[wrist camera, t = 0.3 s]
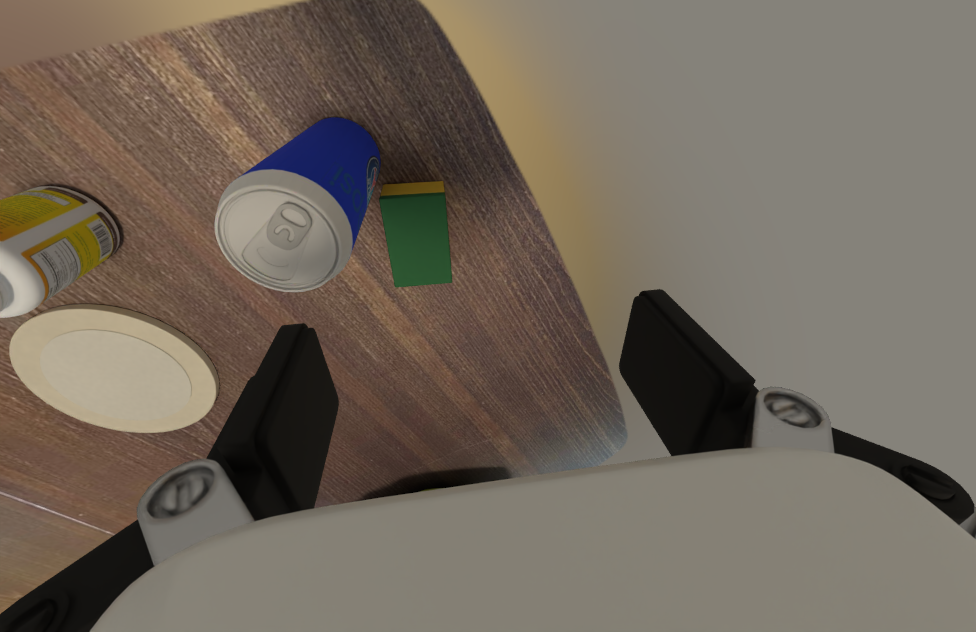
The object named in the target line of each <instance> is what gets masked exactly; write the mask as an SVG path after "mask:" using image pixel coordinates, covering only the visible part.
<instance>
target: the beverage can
mask: <svg viewBox="0 0 976 632" xmlns="http://www.w3.org/2000/svg"><path fill="white" fill-rule="evenodd" d="M380 166H381V160H380V154H379V150H378V147H377V145H376V143H375V141H374V140H373V138H372V137H371V136H370V134H369V133H368V132H367V131H366V130H365V129H364V128H362V127H361V126H360V125H358V124H357V123H355V122H353V121H350V120H348V119H344V118H338V117H332V118H326V119H323V120H320V121H318V122H317V123H315V124H314V125H312V126H311V127H310V128H308V129H307V130H305V131H304V132H302V133H301V134H300V135H298V136H297V137H295V138H294V139H293V140H291V141H290V142H288V143H287V144H285V145H284V146H283V147H281V148H280V149H278V150H277V151H275V152H274V153H273V154H271V155H270V156H268V157H267V158H265V159H264V160H263V161H261V162H260V163H258V164H257V165H255V166H254V167H253V168H251V169H250V170H248V171H247V172H246V173H244V174H243V175H241V176H240V177H238V178H237V179H236V180H234V181H233V182H232V183H231V184H230V185H229V186H228V187H227V188H226V189H225V191H224V193H223V194H222V196H221V199H220V201H219V204H218V210H217V214H216V217H215V234H216V238H217V242H218V244H219V246H220V248H221V251H222V252H223V254H224V255H225V257H226V258H227V260H228V261H229V262H230V263H231V264H232V265H233V266H234V267H235V268H236V269H237V270H238V271H239V272H240V273H242V274H243V275H244V276H246V277H247V278H249V279H250V280H252V281H254V282H256V283H257V284H260V285H262V286H265V287H267V288H270V289H274V290H278V291H284V292H303V291H308V290H312V289H315V288H317V287H320V286H321V285H323V284H325V283H326V282H327V281H329V280H330V279H332V278H334V277H335V276H336V275H337V274H338V273H340V272H341V270H342V269H343V268H344V267H345V266H346V264H347V262H348V260H349V258H350V255H351V252H352V249H353V247H354V244H355V241H356V238H357V235H358V232H359V230H360V227H361V224H362V221H363V218H364V215H365V212H366V210H367V207H368V204H369V201H370V198H371V195H372V192H373V190H374V187H375V184H376V181H377V178H378V175H379V172H380Z"/></svg>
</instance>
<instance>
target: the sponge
mask: <svg viewBox="0 0 976 632" xmlns="http://www.w3.org/2000/svg"><path fill="white" fill-rule="evenodd" d="M379 202H380V208H381V213H382V219H383V224H384V230H385V235H386V241H387V246H388V252H389V257H390V263H391V268H392V274H393V279H394V285H395V287H407V286H418V285H430V284H442V283H452V273H451V260H450V248H449V236H448V223H447V211H446V199H445V191H444V184H443V181H436V182H418V183H401V184H384V185H383V188H382V191H381V195H380V198H379Z"/></svg>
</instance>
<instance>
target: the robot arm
mask: <svg viewBox="0 0 976 632" xmlns="http://www.w3.org/2000/svg"><path fill="white" fill-rule="evenodd" d="M619 369H620V373H621V375H622V377H623V379H624V380H625V382H626V383H627V385H628V386H629V388H630V390H631V391H632V393H633V395H634V396H635V398H636V399H637V401H638V403H639V404H640V406H641V408H642V409H643V411H644V412H645V414H646V416H647V417H648V419H649V420H650V422H651V424H652V425H653V427H654V428H655V430H656V432H657V433H658V435H659V437H660V438H661V440H662V441H663V443H664V444H665V446H666V448H667V449H668V451H669V453H670V454H671V456H670V457H663V458H656V459H648V460H642V461H635V462H627V463H620V464H612V465H605V466H597V467H590V468H582V469H575V470H568V471H561V472H554V473H547V474H540V475H533V476H526V477H519V478H512V479H505V480H498V481H491V482H484V483H477V484H470V485H463V486H456V487H450V488H443V489H436V490H429V491H422V492H416V493H409V494H402V495H395V496H388V497H382V498H375V499H369V500H362V501H356V502H350V503H344V504H338V505H332V506H326V507H320V508H314V506H315V502H316V498H317V494H318V490H319V485H320V481H321V477H322V473H323V469H324V465H325V461H326V457H327V453H328V448H329V444H330V440H331V436H332V432H333V428H334V424H335V420H336V416H337V411H338V406H339V401H338V395H337V392H336V390H335V387H334V384H333V381H332V378H331V375H330V372H329V369H328V366H327V363H326V361H325V358H324V355H323V352H322V349H321V346H320V343H319V340H318V337H317V334H316V332H315V330H314V328H308V327H307V325H306V324H304V323H302V324H292V325H283V326H281V327H280V329H279V331H278V333H277V335H276V337H275V338H274V340H273V342H272V344H271V346H270V348H269V350H268V352H267V354H266V355H265V357H264V359H263V361H262V363H261V365H260V367H259V369H258V371H257V372H256V374H255V376H253V377H251V378H250V380H249V381H248V383H247V384H246V386H245V388H244V390H243V392H242V394H241V395H240V397H239V399H238V401H237V403H236V405H235V407H234V408H233V410H232V412H231V414H230V416H229V418H228V420H227V421H226V423H225V425H224V427H223V429H222V431H221V432H220V434H219V436H218V438H217V440H216V442H215V444H214V445H213V447H212V449H211V451H210V453H209V455H208V456H207V458H206V459H196V460H192V461H189V462H185V463H183V464H181V465H179V466H177V467H174V468H172V469H171V470H169V471H168V472H166V473H165V474H163V475H162V476H160V477H159V478H158V479H157V480H156V481H155V482H154V483H153V484H152V485H150V486H149V487H148V489H147V490H146V492H145V493H144V494H143V496H142V497H141V499H140V501H139V504H138V507H137V518H138V520H136V521H135V522H133V523H132V524H131V525H129V526H128V527H126V528H125V529H123V530H122V531H120V532H119V533H117V534H116V535H114V536H113V537H111V538H110V539H108V540H107V541H105V542H104V543H102V544H101V545H99V546H98V547H96V548H95V549H93V550H92V551H90V552H89V553H87V554H86V555H84V556H83V557H82V558H80V559H79V560H77V561H76V562H74V563H73V564H71V565H70V566H68V567H67V568H65V569H64V570H62V571H61V572H59V573H58V574H56V575H55V576H53V577H52V578H50V579H49V580H47V581H46V582H44V583H43V584H41V585H40V586H38V587H37V588H36V589H34V590H33V591H31V592H30V593H28V594H27V595H25V596H24V597H22V598H21V599H19V600H18V601H17V602H15V603H14V604H13V605H11V606H10V607H9V608H8V609H6V610H5V611H4V612H2V613H1V614H0V632H976V507H974V503H973V501H972V499H971V497H970V496H969V494H968V493H967V492H966V491H965V490H964V489H963V488H962V486H961V485H960V484H958V483H957V482H956V481H955V480H953V479H952V478H951V477H950V476H948V475H947V474H945V473H943V472H942V471H940V470H939V469H937V468H935V467H933V466H931V465H929V464H927V463H924V462H922V461H920V460H917V459H915V458H912V457H909V456H907V455H904V454H901V453H899V452H896V451H893V450H891V449H888V448H885V447H883V446H880V445H877V444H875V443H872V442H869V441H867V440H864V439H861V438H859V437H856V436H853V435H851V434H848V433H845V432H843V431H840V430H837V429H834V428H832V427H831V422H830V419H829V416H828V414H827V413H826V412H825V410H824V409H823V408H822V407H821V406H820V405H819V404H817V403H816V402H815V401H814V400H812V399H811V398H809V397H807V396H805V395H803V394H801V393H799V392H796V391H793V390H790V389H786V388H782V387H768V388H763V389H762V390H760V391H759V390H758V389H757V388H756V387H755V386H754V383H755V379H754V378H753V377H752V376H751V375H749V373H748V372H747V371H746V370H745V369H744V368H743V367H742V366H740V365H739V364H738V363H737V362H736V361H735V360H734V359H733V358H732V357H731V356H730V355H729V354H728V353H727V352H726V351H725V350H724V349H723V348H722V347H721V346H720V345H719V344H718V343H717V342H716V341H715V340H714V339H713V338H712V337H711V336H710V335H708V333H707V332H706V331H705V330H704V329H703V328H701V327H700V326H699V325H698V324H697V323H696V322H695V321H694V320H693V319H692V318H691V317H690V316H689V315H688V314H687V313H686V312H685V311H684V310H683V309H682V308H681V307H680V306H678V304H677V303H676V302H675V301H674V300H673V299H672V298H671V297H670V296H669V295H668V294H667V293H666V292H665V291H663V290H660V289H659V290H648V291H642V292H640V294H639V296H637V297H635V298H634V301H633V305H632V309H631V313H630V318H629V322H628V327H627V331H626V336H625V340H624V345H623V350H622V354H621V358H620V363H619Z"/></svg>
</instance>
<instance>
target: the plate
mask: <svg viewBox="0 0 976 632" xmlns="http://www.w3.org/2000/svg"><path fill="white" fill-rule="evenodd" d="M9 355H10V359H11V363H12V365H13V368H14V370H15V372H16V373H17V375H18V376H19V378H20V379H21V380H22V382H23V383H24V384H25V385H26V386H27V387H28V388H29V389H30V390H31V391H32V392H33V393H34V394H35V395H37V396H38V397H39V398H41V399H42V400H43V401H45V402H46V403H48V404H49V405H51V406H53V407H54V408H56V409H58V410H59V411H61V412H63V413H65V414H67V415H69V416H72V417H74V418H77V419H79V420H82V421H84V422H87V423H90V424H93V425H97V426H100V427H104V428H109V429H114V430H119V431H126V432H137V433H156V432H166V431H172V430H176V429H180V428H183V427H186V426H189V425H191V424H193V423H195V422H197V421H198V420H200V419H201V418H202V417H204V416H205V415H206V414H207V413H208V412H209V411H210V409H211V408H212V406H213V404H214V403H215V401H216V399H217V396H218V394H219V378H218V374H217V371H216V369H215V367H214V365H213V363H212V362H211V360H210V359H209V357H208V356H207V355H206V354H205V352H204V351H203V350H202V349H201V348H200V347H199V346H198V345H197V344H196V343H194V342H193V341H192V340H191V339H190V338H188V337H187V336H185V335H184V334H183V333H181V332H180V331H178V330H176V329H175V328H173V327H171V326H169V325H167V324H165V323H163V322H161V321H159V320H157V319H155V318H152V317H150V316H147V315H144V314H141V313H138V312H135V311H132V310H128V309H123V308H119V307H114V306H107V305H98V304H72V305H65V306H59V307H55V308H51V309H48V310H46V311H43V312H41V313H39V314H37V315H35V316H34V317H32V318H31V319H29V320H28V321H26V322H25V323H23V324H22V325H21V326H20V327H19V328H18V329H17V330H16V332H15V333H14V335H13V337H12V339H11V343H10V349H9Z"/></svg>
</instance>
